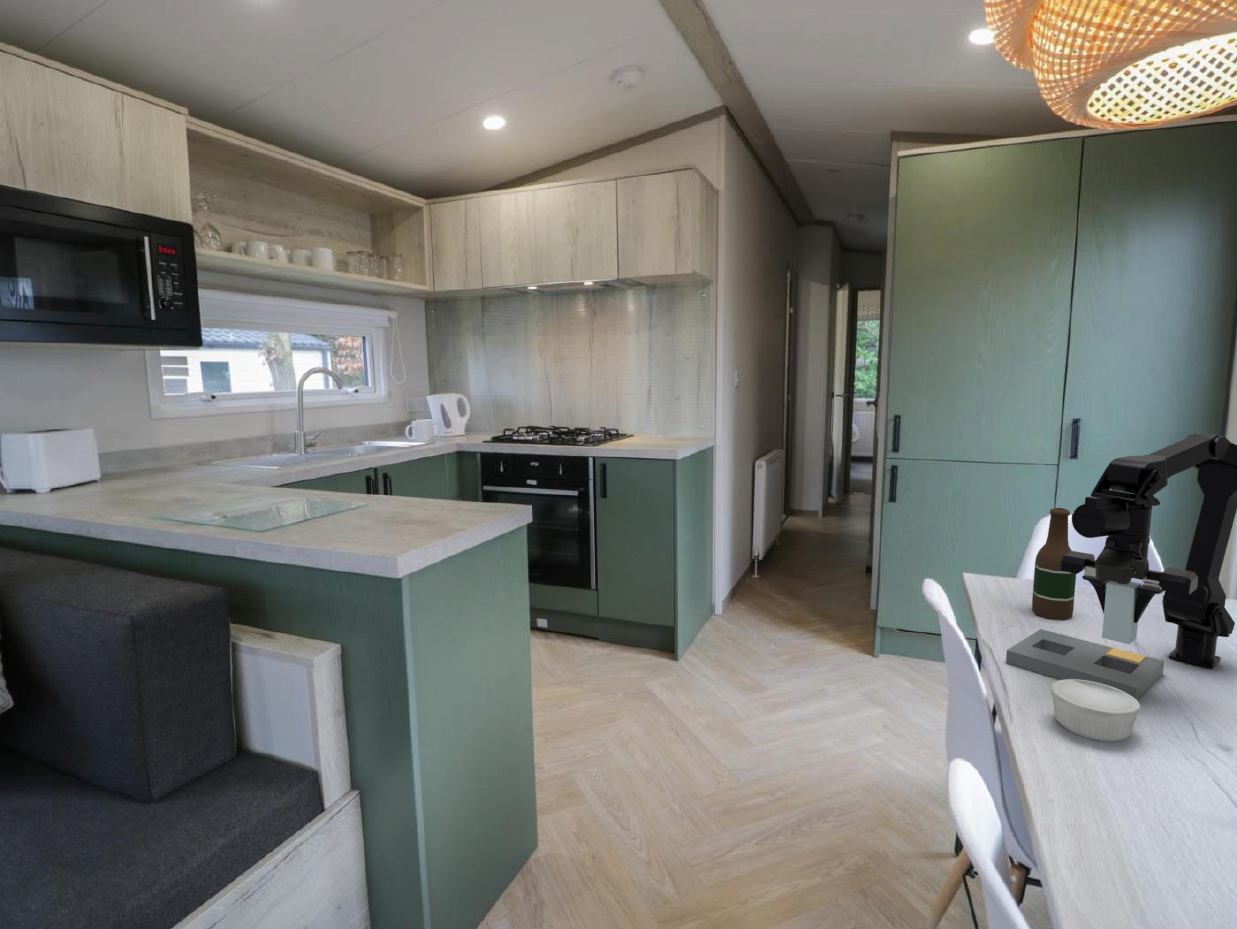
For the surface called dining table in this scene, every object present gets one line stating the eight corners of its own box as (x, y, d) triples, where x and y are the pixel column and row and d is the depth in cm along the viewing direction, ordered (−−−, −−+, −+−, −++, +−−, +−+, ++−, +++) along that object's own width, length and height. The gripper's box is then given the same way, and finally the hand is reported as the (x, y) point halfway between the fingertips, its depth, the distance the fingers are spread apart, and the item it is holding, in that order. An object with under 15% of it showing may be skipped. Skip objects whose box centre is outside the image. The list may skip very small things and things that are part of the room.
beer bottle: (1071, 623, 146) (1080, 514, 143) (1029, 616, 151) (1037, 509, 148) (1074, 613, 153) (1082, 507, 149) (1033, 606, 157) (1041, 504, 154)
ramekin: (1135, 721, 107) (1138, 689, 106) (1139, 755, 97) (1143, 720, 97) (1050, 702, 113) (1052, 672, 112) (1047, 732, 104) (1049, 700, 103)
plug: (1109, 631, 123) (1114, 578, 121) (1136, 638, 120) (1141, 583, 118) (1101, 637, 120) (1106, 583, 119) (1129, 644, 117) (1134, 588, 116)
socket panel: (1039, 640, 138) (1040, 628, 137) (1162, 674, 122) (1164, 659, 122) (1005, 662, 128) (1006, 649, 127) (1135, 702, 112) (1137, 686, 112)
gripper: (1050, 530, 120) (1043, 615, 122) (1185, 551, 105) (1175, 647, 107) (1073, 520, 127) (1066, 601, 129) (1203, 538, 112) (1193, 629, 114)
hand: (1120, 618), depth 120 cm, fingers closed on plug, 4 cm apart
